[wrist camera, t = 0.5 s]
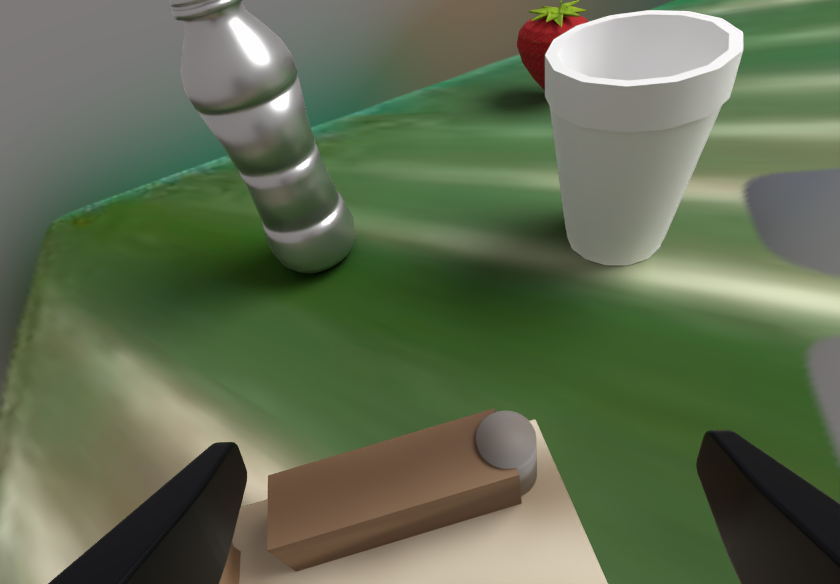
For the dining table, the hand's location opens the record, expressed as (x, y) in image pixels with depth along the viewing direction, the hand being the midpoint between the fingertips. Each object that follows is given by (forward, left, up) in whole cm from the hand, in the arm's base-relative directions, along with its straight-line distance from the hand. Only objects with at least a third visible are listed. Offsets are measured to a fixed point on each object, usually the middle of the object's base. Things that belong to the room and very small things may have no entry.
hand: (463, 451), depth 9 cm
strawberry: (+42, -20, -15) cm, 49 cm away
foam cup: (+20, -15, -15) cm, 29 cm away
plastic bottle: (+27, +6, -15) cm, 31 cm away
